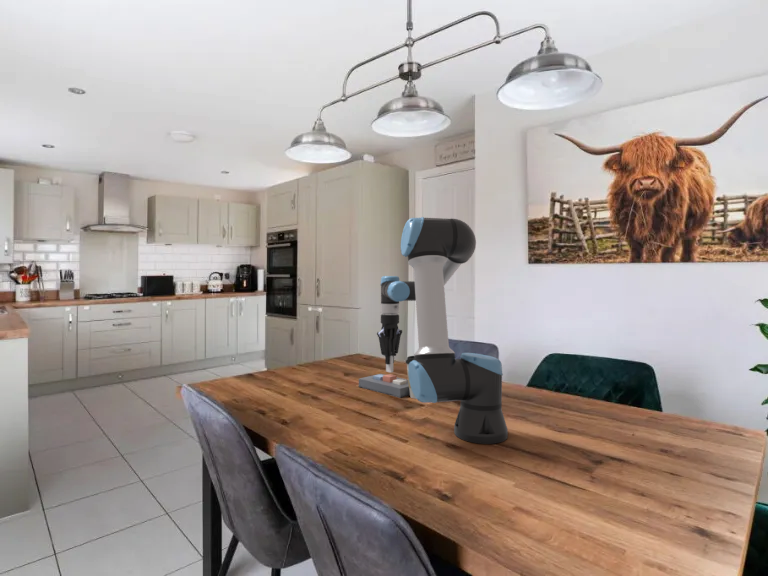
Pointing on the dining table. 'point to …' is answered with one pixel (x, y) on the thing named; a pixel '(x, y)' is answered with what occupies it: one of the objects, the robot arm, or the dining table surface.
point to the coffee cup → (408, 376)
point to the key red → (389, 378)
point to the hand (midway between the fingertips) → (389, 371)
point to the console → (384, 386)
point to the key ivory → (399, 381)
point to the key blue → (378, 377)
